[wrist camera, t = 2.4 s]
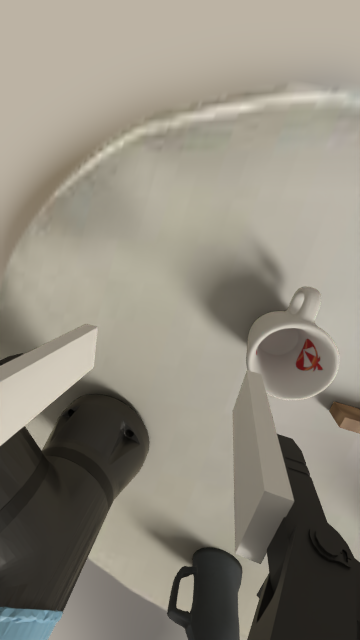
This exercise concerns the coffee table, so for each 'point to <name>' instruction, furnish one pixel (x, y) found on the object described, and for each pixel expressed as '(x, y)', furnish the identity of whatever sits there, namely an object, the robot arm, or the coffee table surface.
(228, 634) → the mug
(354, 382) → the coffee table surface
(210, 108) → the coffee table surface
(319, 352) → the cup
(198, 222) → the coffee table surface
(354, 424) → the brown wooden open frame
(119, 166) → the coffee table surface
